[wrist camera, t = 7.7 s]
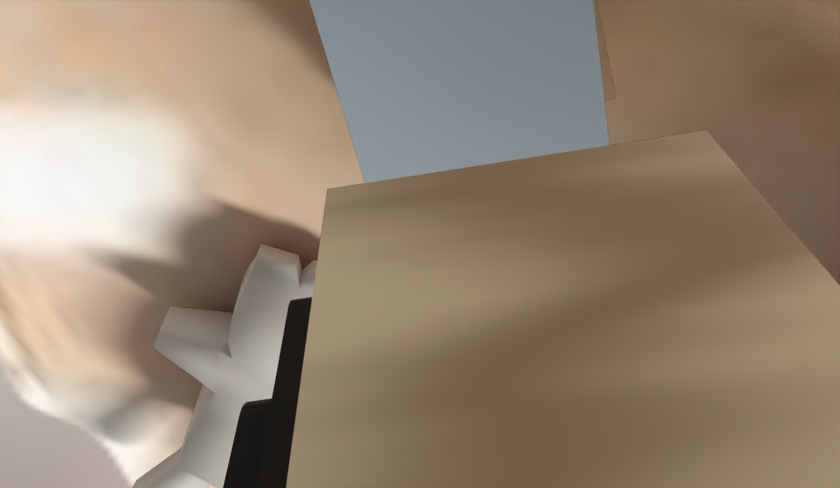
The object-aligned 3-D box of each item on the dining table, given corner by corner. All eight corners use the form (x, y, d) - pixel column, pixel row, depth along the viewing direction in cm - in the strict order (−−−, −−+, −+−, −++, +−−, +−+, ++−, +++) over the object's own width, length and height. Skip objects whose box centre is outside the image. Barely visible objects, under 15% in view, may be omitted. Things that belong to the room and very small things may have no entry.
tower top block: (551, -124, 22) (581, -103, 18) (581, 104, 26) (610, 156, 22) (313, -62, 23) (299, -31, 19) (375, 151, 26) (373, 209, 23)
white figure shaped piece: (419, 329, 30) (301, 593, 36) (410, 268, 35) (307, 510, 40) (175, 257, 28) (91, 550, 34) (200, 203, 33) (123, 468, 38)
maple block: (706, 130, 10) (1033, 513, 5) (693, 409, 13) (898, 843, 8) (327, 189, 10) (268, 610, 5) (392, 450, 13) (395, 897, 8)
